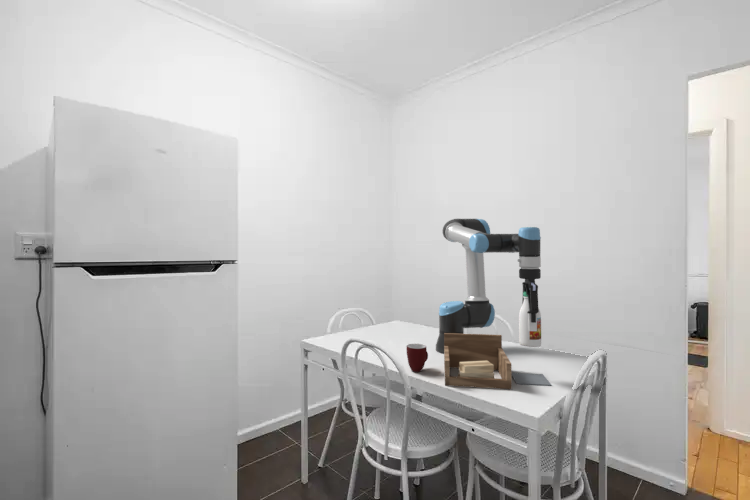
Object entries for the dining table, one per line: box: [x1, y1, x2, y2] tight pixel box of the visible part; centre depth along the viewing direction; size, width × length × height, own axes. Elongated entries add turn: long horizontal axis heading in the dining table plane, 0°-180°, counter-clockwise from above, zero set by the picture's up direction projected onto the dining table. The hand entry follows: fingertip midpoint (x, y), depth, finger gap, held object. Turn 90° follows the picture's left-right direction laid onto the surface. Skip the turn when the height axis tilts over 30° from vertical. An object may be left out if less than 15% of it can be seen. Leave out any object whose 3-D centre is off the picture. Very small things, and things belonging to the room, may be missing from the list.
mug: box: [406, 343, 429, 373], centre depth 154 cm, size 10×8×10 cm
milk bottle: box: [518, 291, 542, 348], centre depth 141 cm, size 8×8×20 cm
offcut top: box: [458, 361, 495, 373], centre depth 139 cm, size 6×11×2 cm, turn 98°
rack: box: [443, 333, 513, 390], centre depth 145 cm, size 23×23×14 cm
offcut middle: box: [458, 368, 495, 378], centre depth 139 cm, size 6×12×2 cm, turn 84°
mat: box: [511, 371, 552, 387], centre depth 142 cm, size 12×12×1 cm
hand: (530, 328), depth 142 cm, fingers closed on milk bottle, 7 cm apart
